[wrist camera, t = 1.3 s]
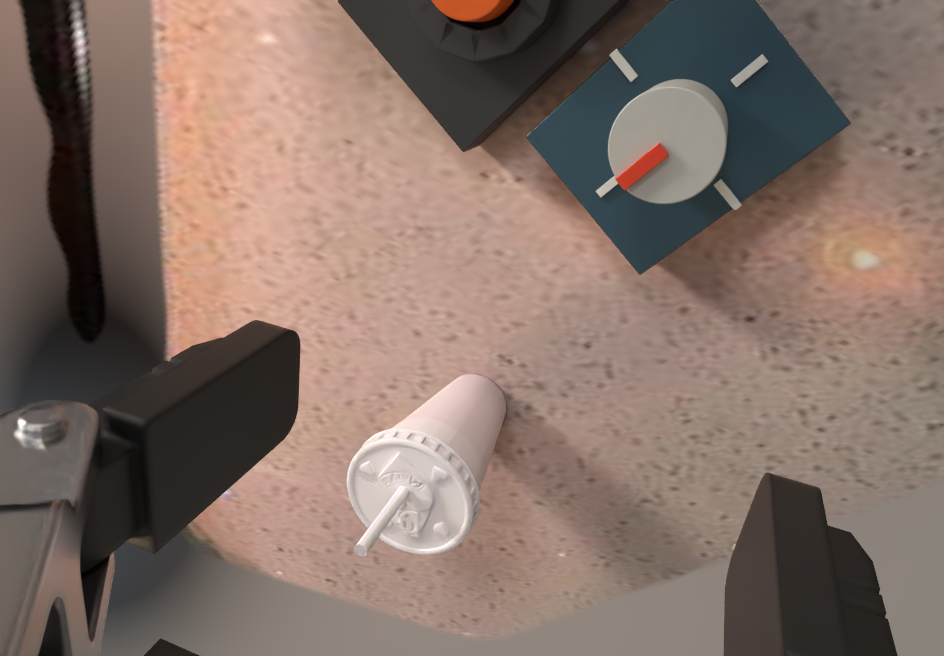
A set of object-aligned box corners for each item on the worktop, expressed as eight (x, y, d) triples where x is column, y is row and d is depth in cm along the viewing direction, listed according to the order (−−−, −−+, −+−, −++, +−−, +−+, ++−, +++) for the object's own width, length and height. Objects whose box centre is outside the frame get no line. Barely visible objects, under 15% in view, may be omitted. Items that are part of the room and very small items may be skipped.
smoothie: (523, 353, 38) (423, 501, 26) (534, 455, 40) (447, 636, 28) (416, 351, 40) (278, 487, 28) (432, 448, 43) (311, 613, 30)
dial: (686, 56, 28) (676, 60, 23) (749, 135, 28) (751, 155, 23) (607, 126, 29) (583, 142, 25) (666, 199, 30) (653, 228, 25)
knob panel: (720, -40, 29) (718, -48, 26) (842, 117, 29) (853, 125, 26) (540, 127, 33) (522, 135, 31) (648, 258, 34) (640, 278, 31)
